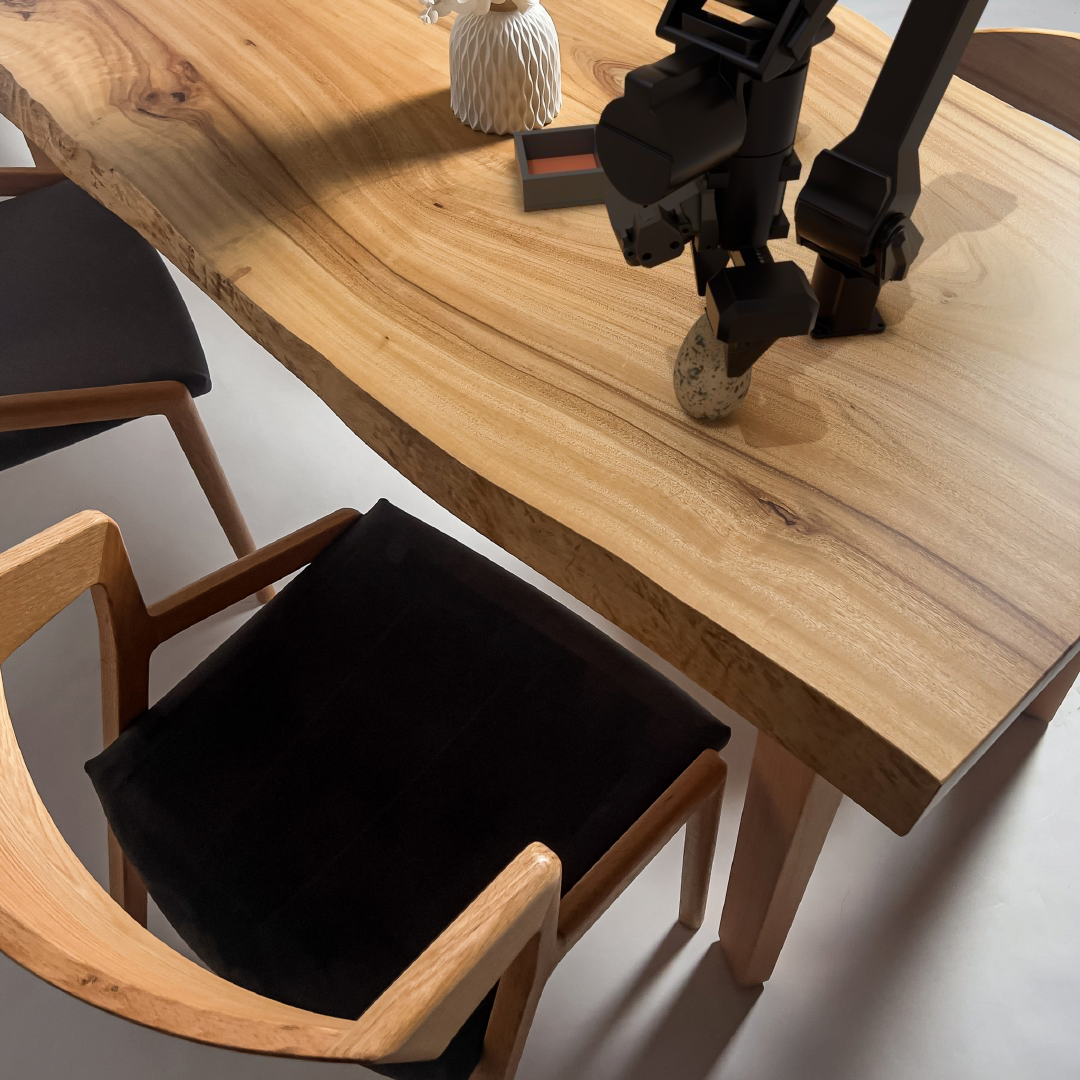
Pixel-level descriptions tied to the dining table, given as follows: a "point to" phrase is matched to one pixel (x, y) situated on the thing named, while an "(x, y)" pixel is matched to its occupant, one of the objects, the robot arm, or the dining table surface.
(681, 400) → the decorative egg
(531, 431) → the dining table surface
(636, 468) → the dining table surface
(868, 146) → the robot arm
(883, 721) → the dining table surface
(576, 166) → the egg tray
